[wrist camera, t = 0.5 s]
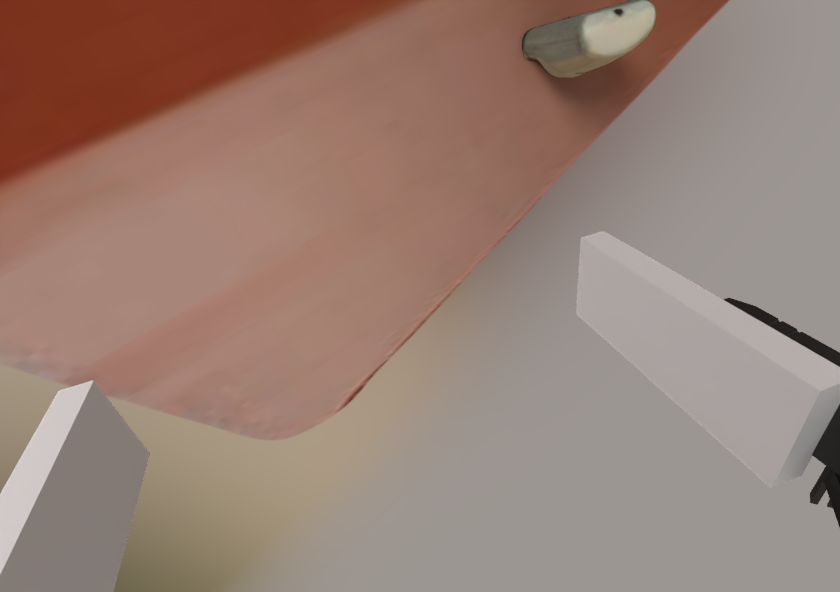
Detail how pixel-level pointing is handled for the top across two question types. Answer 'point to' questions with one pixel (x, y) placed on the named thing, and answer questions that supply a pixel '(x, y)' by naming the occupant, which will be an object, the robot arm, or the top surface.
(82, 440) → the robot arm
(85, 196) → the top surface
